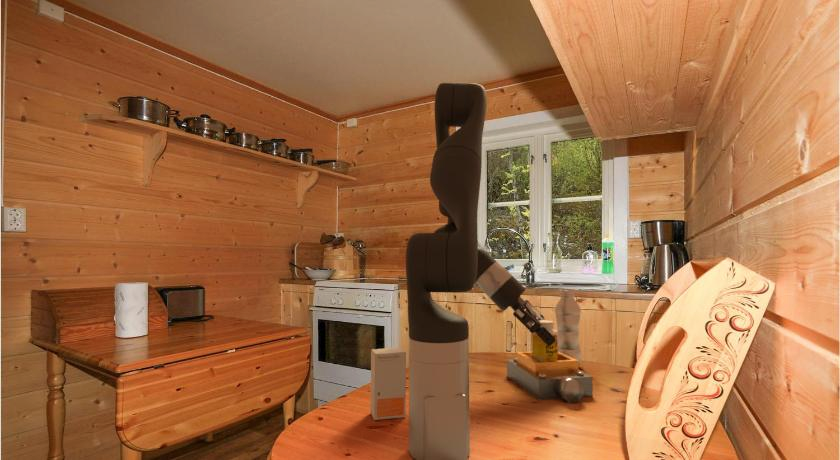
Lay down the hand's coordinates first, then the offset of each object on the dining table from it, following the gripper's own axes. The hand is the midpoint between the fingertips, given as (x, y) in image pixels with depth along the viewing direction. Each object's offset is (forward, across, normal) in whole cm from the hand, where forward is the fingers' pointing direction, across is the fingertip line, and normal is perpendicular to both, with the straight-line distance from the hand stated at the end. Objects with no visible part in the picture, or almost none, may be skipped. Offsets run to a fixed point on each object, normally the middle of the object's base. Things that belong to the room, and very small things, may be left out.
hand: (553, 340), depth 98 cm
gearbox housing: (+7, -1, +8) cm, 10 cm away
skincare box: (-13, -28, +28) cm, 41 cm away
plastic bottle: (+9, +18, +5) cm, 21 cm away
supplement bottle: (+3, 0, +6) cm, 7 cm away
